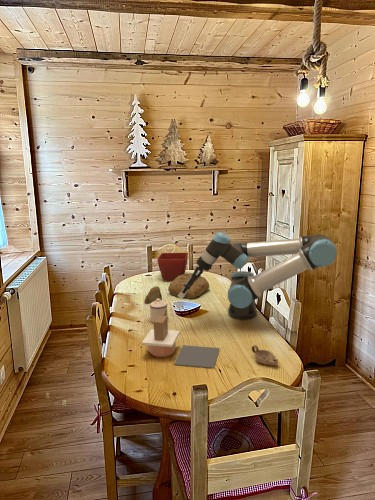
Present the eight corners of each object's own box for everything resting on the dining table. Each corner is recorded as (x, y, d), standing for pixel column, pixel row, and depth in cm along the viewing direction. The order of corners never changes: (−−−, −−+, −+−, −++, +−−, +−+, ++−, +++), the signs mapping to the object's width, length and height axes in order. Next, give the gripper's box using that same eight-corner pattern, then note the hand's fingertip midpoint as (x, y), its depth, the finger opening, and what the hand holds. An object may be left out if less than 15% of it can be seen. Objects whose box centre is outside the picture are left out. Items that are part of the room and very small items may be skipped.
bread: (194, 301, 217) (194, 282, 215) (164, 295, 228) (164, 277, 226) (214, 289, 237) (213, 271, 235) (185, 284, 248) (185, 267, 246)
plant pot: (162, 274, 271) (161, 252, 268) (188, 274, 269) (188, 252, 266) (158, 283, 253) (157, 259, 249) (186, 283, 251) (185, 259, 247)
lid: (179, 333, 163) (179, 313, 161) (172, 347, 151) (171, 326, 149) (151, 331, 166) (150, 312, 164) (142, 344, 154) (140, 324, 152)
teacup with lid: (167, 323, 187) (166, 302, 185) (149, 324, 188) (148, 302, 185) (169, 314, 199) (168, 293, 197) (152, 314, 199) (151, 294, 197)
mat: (219, 349, 160) (219, 348, 160) (213, 368, 145) (213, 367, 145) (183, 346, 164) (183, 345, 164) (174, 365, 148) (174, 364, 148)
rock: (142, 302, 212) (159, 299, 211) (141, 287, 216) (158, 285, 214) (147, 307, 222) (163, 304, 221) (146, 293, 225) (162, 291, 224)
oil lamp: (282, 365, 146) (283, 353, 145) (268, 371, 142) (269, 359, 141) (259, 352, 157) (259, 341, 156) (245, 357, 153) (246, 346, 152)
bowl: (177, 346, 164) (177, 333, 162) (171, 359, 153) (170, 345, 152) (153, 344, 166) (153, 332, 165) (145, 356, 156) (145, 343, 154)
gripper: (204, 249, 192) (182, 280, 199) (195, 262, 169) (170, 296, 175) (216, 258, 192) (193, 288, 198) (208, 272, 168) (183, 306, 175)
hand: (182, 292), depth 187 cm, fingers open, 13 cm apart
